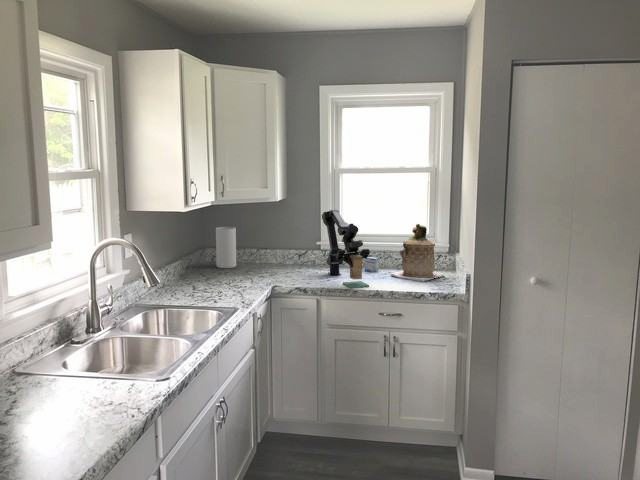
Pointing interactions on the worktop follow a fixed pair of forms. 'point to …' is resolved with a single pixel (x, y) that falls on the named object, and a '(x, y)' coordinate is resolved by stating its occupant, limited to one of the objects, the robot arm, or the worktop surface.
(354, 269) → the walnut block
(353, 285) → the green mat
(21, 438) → the worktop surface
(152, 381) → the worktop surface
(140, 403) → the worktop surface
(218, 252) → the cylinder vase
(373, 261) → the medicine box
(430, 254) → the cookie jar
